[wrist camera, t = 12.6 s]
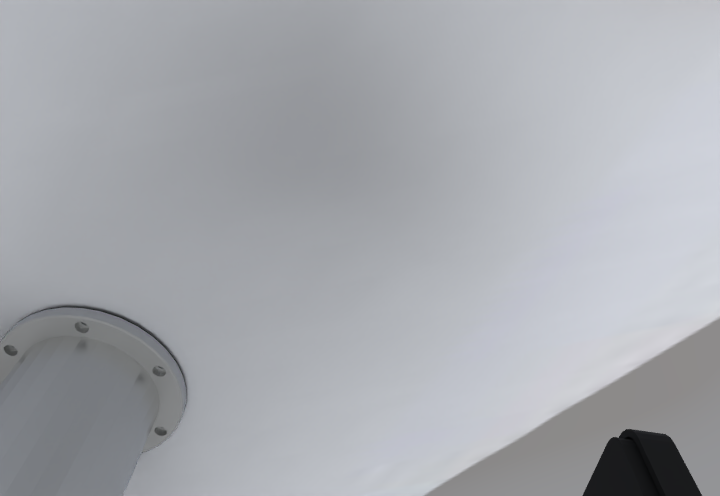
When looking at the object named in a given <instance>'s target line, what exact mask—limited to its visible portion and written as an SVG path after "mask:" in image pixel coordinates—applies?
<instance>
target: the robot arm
mask: <svg viewBox="0 0 720 496" xmlns="http://www.w3.org/2000/svg"><path fill="white" fill-rule="evenodd" d="M185 405H186V386H185V382H184V378H183V375H182V373H181V371H180V369H179V367H178V365H177V363H176V362H175V360H174V359H173V358H172V356H171V355H170V354H169V352H168V351H167V350H166V349H165V348H164V347H163V346H162V345H161V344H160V343H159V342H158V341H157V340H156V339H155V338H154V337H152V336H151V335H149V334H148V333H146V332H145V331H143V330H142V329H141V328H139V327H138V326H136V325H134V324H132V323H130V322H128V321H126V320H124V319H121V318H119V317H116V316H113V315H110V314H107V313H104V312H101V311H96V310H90V309H85V308H65V307H63V308H56V309H48V310H44V311H41V312H38V313H35V314H32V315H30V316H28V317H26V318H25V319H23V320H21V321H20V322H18V323H17V324H16V325H15V326H14V327H13V328H12V329H11V330H10V331H9V332H8V333H7V334H6V336H5V337H4V338H3V340H2V341H1V342H0V496H123V494H124V492H125V489H126V487H127V485H128V482H129V480H130V478H131V475H132V473H133V471H134V468H135V466H136V464H137V461H138V459H139V457H140V455H141V453H143V452H147V451H149V450H151V449H153V448H155V447H157V446H159V445H160V444H162V443H163V442H164V441H166V440H167V439H168V438H169V437H170V436H171V435H172V434H173V432H174V431H175V430H176V429H177V427H178V424H179V422H180V420H181V418H182V415H183V412H184V409H185ZM583 496H702V495H701V493H700V491H699V489H698V487H697V485H696V483H695V481H694V480H693V478H692V476H691V474H690V472H689V470H688V468H687V466H686V464H685V463H684V461H683V459H682V457H681V455H680V453H679V451H678V449H677V448H676V446H675V444H674V442H673V441H672V439H671V438H670V437H669V436H667V435H666V434H660V433H653V432H646V431H639V430H632V429H626V430H625V431H623V432H622V433H621V435H620V436H619V438H617V437H613V438H611V439H610V440H609V442H608V443H607V445H606V447H605V449H604V452H603V454H602V456H601V458H600V460H599V462H598V464H597V467H596V468H595V471H594V473H593V475H592V477H591V479H590V481H589V483H588V485H587V487H586V490H585V492H584V494H583Z"/></svg>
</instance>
